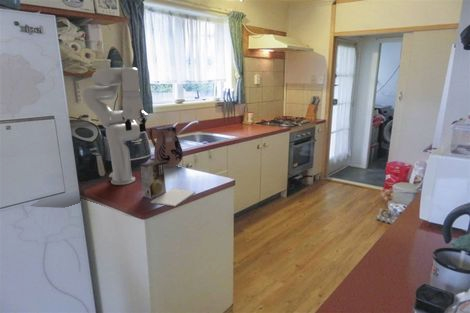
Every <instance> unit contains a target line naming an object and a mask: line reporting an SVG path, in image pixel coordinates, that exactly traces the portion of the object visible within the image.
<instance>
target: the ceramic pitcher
mask: <svg viewBox="0 0 470 313" xmlns="http://www.w3.org/2000/svg"><path fill="white" fill-rule="evenodd" d="M153 130H155V131H156V132H157V135H156V140H155V139H154V135H153ZM148 135H149V139H150V142H151V143H152V146H153V147H154V150H153V153H154V154H153V156H154V160H157V161H160V162H163V168H173V167H177V166H178V165H179V164H180V163H181V162H182V161H183V155H184V153H183V147H182V146H181V145H182V144H181V143H180V139H179V137H178V135H177V127H176V126H174V125H172V124H171V125H161V126H152V127H151V128H150V129H149V130H148Z"/></svg>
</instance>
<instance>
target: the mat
mask: <svg viewBox="0 0 470 313" xmlns="http://www.w3.org/2000/svg"><path fill="white" fill-rule="evenodd" d="M196 192H197V191H194V190H188V189H187V190H186V189H179V188H171V189H170V190H168V191H166V193H164V194H163V195H160V196H157V197H155V198H153V199H152V200H151V201H150V203H151V204H155V203H156V205H161V204H162V206H168V207H169V206H170V207H174V208H175V207H177V206H178V205H180V204H182V203H183V202H184V201H186V200H187V199H188V198H190V197H191V196H193V195H194V194H196Z"/></svg>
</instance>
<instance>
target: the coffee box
mask: <svg viewBox="0 0 470 313" xmlns="http://www.w3.org/2000/svg"><path fill="white" fill-rule="evenodd" d="M139 168H140V177H141V186H142V193H143V197H145V198H148V199H150V200H153V199H156V198H158V197H159V196H161V195H163V194H164V193H166V192H167V187H166V181H165V180H166V178H165V170H164V168H165V167H163V162H160V161H157V160H155V159H154V160H150V161H147V162H143V163H140V164H139Z"/></svg>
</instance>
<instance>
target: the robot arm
mask: <svg viewBox="0 0 470 313" xmlns="http://www.w3.org/2000/svg"><path fill="white" fill-rule="evenodd" d="M91 80H92V82H93V84H94V85H90V86H87V87H85V88H84V89H83V90H82V97H83V101H84V103H85V105H86V106H87V108H88V109H89V110H90V111H91V112H92V113H93V114H94V115H95V116H96V118H97V119H98V121H99V122H100V124H101V125H102V127H103V128H105V137H106V138H107V142H108V146H109V151H110V158H111V167H112V172H110V174H109V175H108V177H109V178H112V179H111V180H110V182H111V185H115V186H116V185H117V186H123V185H130V184H132V183H134V182H135V181H136V177H135V176H133V174H132V164H131V154H130V150H129V147H128V146H127V145H126V143H124V142H129V141H133V140H134V141H135V140H137V139H139V137H141V133H145V132H146V131H147V128H146V123H147V121H148V117H149V114H148V113H147V112H146V111H145V109H144V105H143V100H142V99H143V98H141V97H142V96H141V90H140V89H141V88H140V77H139V70H138V68H137V67H104V68H100V69H99V70H96V71H94V72H93V73H92V75H91ZM121 84H122V92H123V98H122V109H121V110H112V109H111V108H110V106H109V105H108V104H107V103H106V102H104V101H113V100H115V99H116V98H117V95H118V93H119V90H120V88H121ZM136 121H138V123H139V124H138V123H137V122H136Z"/></svg>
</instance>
